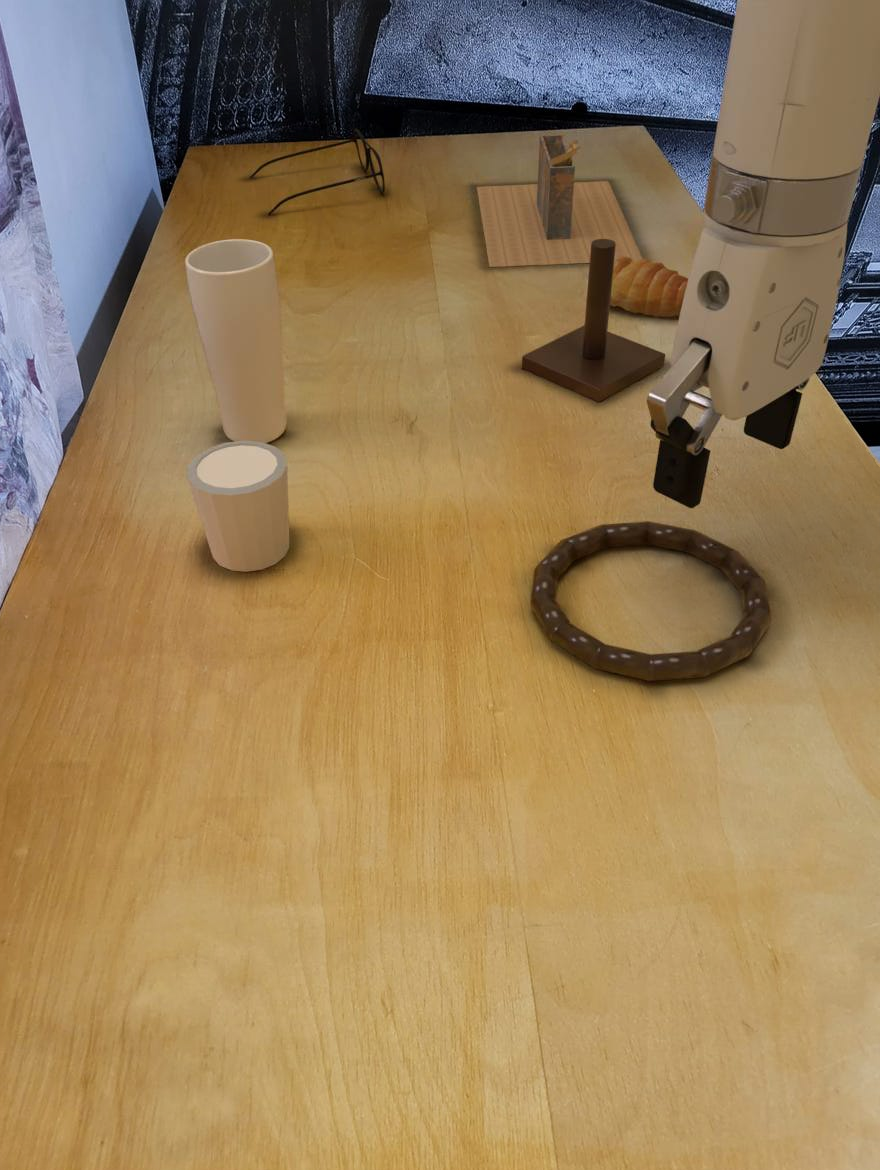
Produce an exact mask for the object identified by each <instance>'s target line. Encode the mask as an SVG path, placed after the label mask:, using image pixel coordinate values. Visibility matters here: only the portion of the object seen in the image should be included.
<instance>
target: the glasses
mask: <svg viewBox="0 0 880 1170" xmlns="http://www.w3.org/2000/svg"><path fill="white" fill-rule="evenodd" d="M352 133H353V138H352V139H348V140H344V141H340V142H336V143H331V144H327V145H323V146H318V147H314V148H310V149H306V150H302V151H301V150H300V151H298V152H294V153H291V154H290V153H289V154H287V155H284V156H280V157H276V158H274V159H271V160H269V161H266V162H264V163H263V164H261V165H260V166H258V168H257V169H256V170H255V171H254V172H253V173H252V174H251V175H250V176H249V179H250V180H251V179H252V178H253V177H254V176H256V175H257V174H258V173H259V172H260V171H261V170H262V169H264V168H265V167H267V166H269V165H271V164H274V163H276V162H279V161H282V160H285V159H289V158H293V157H296V156H297V157H298V156H300V155H305V154H308V153H313V152H317V151H321V150H325V149H329V148H334V147H338V146H342V145H345V144H349V143H350V144H351V143H354V144H355V148H356V152H357V155H358V160H359V163H360V167H361V169H362V171H363V172H368V170H369V168H370V172H371V173H370V174H367V175H364V176H359V177H355V178H351V179H347V180H343V181H339V182H334V183H331V184H326V185H322V186H319V187H315V188H311V189H308V190H307V189H306V190H304V191H301V192H297V193H295V194H291V195H290V196H287V197H286V198H284V199H282V200H281V201H279V202H278V203H277V204H276V205H275V206H274V207H273V208H272V209H271V210H270V211H269V212H268V213H267V216H270V215H272V214H273V213H274V212H275V211H276V210H277V209H278V208H280V206H281V205H283V204H284V203H286V202H288V201H291V200H292V199H296V198H299V197H301V196H304V195H307V194H312V193H314V192H319V191H322V190H327V189H330V188H334V187H340V186H344V185H346V184H351V183H354V182H359V181H362V180H365V179H370V178H373V180H374V183H375V185H376V187H377V189H378V191H379V193H380V194H384V193H385V191H386V190H385V189H386V188H385V187H386V185H385V184H386V183H385V175H384V174H385V173H384V169H383V165H382V164H383V163H382V160H381V157H380V155H379V153H378V151H377V150H376V149H375V148H374V147H372V146H371V144H369V143H368V142H367V140H366V139H365V137H364V136H363V134H362V133H361V131H360V130H359V129H358V128H354V129H353V132H352ZM357 134H358V136H359V138H360V140H361V142H362V145H363V149H364V154H365V155H364V156H365V167H364V164H363V161H362V158H361V154H360V149H359V143H358V138H357ZM371 151H372V153H373V155H374V157H375V159H376V161H377V163H378V167H379V168H378V169H379V171H378V172H376V171H375V168H374V164H373V163H374V162H373V159H372V154H371ZM377 176H380V177H381V181H382V188H381V186H380V184H379V181H378V178H377Z"/></svg>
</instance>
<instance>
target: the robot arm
mask: <svg viewBox="0 0 880 1170" xmlns="http://www.w3.org/2000/svg"><path fill="white" fill-rule="evenodd" d="M723 82H724V83H723V89H722V93H721V100H720V106H719V112H718V119H717V124H716V131H715V136H714V143H713V149H712V152H713V153H712V155H711V161H710V168H709V174H708V179H707V180H708V181H707V187H706V193H705V199H704V206H703V211H702V222H703V223H704V225H705V226H704V227H703V228H702V231H701V233H700V234H701V235H700V237H699V241H698V244H697V246H696V247H697V248H696V249H695V253H694V256H693V260H692V264H691V267H690V271H689V275H688V282H687V286H686V290H685V294H684V299H683V303H682V307H681V311H680V315H678V316H679V317H678V320H677V321H678V322H677V326H676V331H675V336H674V343H673V348H672V354H671V361H670V368H669V369H668V370H667V371H666V372H665V374H664V375H663V376H662V377H661V378H660V380H659V381H658V382H657V383H656V384H655V385H654V387H653V388H652V389H651V390H650V391H649V393H648V395H647V398H646V404H647V409H648V412H649V416H650V424H649V425H650V428H651V429H652V430H653V431H654V432H655V435H654V436H655V438H656V439H658V440H659V444H658V451H657V456H656V457H657V458H656V464H655V469H654V476H653V482H652V487H653V490H654V491H655V492H656V493H658V494H660V495H662V496H664V497H666V498H668V499H670V500H672V501H674V502H677V503H679V504H681V505H683V506H685V507H686V508H688V509H694V508H696V507H697V506H699V505H700V504H701V502H702V497H703V492H704V486H705V481H706V477H707V471H708V465H709V460H710V457H711V450H710V449H708V448H706V447H705V446H706V444H707V443H708V441H709V439H710V437H711V436H712V434H713V432H714V430H715V429H716V427H717V425H718V424H719V422H720V420H721V418H722V416H724V418H725V419H726V420H730V421H738V420H741V419H743V418H745V421H744V424H743V433H744V434H745V435H746V436H747V437H750V438H752V439H754V440H757V441H759V442H762V443H765V444H766V445H769V446H772V447H774V448H776V449H779V450H784V449H785V448H787V447H788V446H789V445H790V443H791V441H792V437H793V432H794V429H795V425H796V420H797V416H798V413H799V409H800V404H801V400H802V396H803V392H801V391H803V390H804V389H805V388H806V387H807V385H808V384H809V382H810V378H811V377H813V376H814V375H815V374H816V373H817V372H818V370H819V369H820V368H821V366H822V364H823V362H824V359H825V356H826V351H827V347H828V342H829V338H830V335H831V330H832V326H833V320H834V315H835V311H836V307H837V300H838V295H839V290H840V285H841V280H842V275H843V269H844V268H843V267H844V262H845V255H846V245H847V235H848V221H849V218H850V215H851V210H852V206H853V202H854V198H855V196H856V195H855V194H856V190H857V187H858V182H859V178H860V175H861V171H862V166H863V163H864V159H865V155H866V151H867V146H868V143H869V139H870V136H871V135H870V134H871V131H872V128H873V125H874V124H873V123H874V120H875V116H876V111H877V107H878V103H879V100H880V0H737V2H736V7H735V15H734V21H733V26H732V32H731V39H730V45H729V51H728V56H727V64H726V69H725V75H724V81H723ZM703 387H705V388H708V389H709V395H710V397H708V396H706V395H703V394H701V393H699V392H696V391H697V390H699V389H701V388H703ZM798 390H799V391H798ZM690 405H691V406H693V407H696V408H698V409H700V410H702V411H703V413H702V415H701V417H700V419H699V421H698V422H697V424H696V425H695V427H694V428H693V426H692V425H691V424H690V423H689V422H688V421H687V420H686V419H685V418H683V417H684V415H685V413H686V411H687V410H688V408H689V406H690Z"/></svg>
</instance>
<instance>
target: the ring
mask: <svg viewBox="0 0 880 1170" xmlns="http://www.w3.org/2000/svg"><path fill="white" fill-rule="evenodd" d="M639 545H640V546H641V545H649V546H653V547H659V548H664V549H669V550H674V551H678V552H679V551H680V552H685V553H688V554H690V555H692V556H694V557H695V558H698V559H700V560H702V561H703V562H706V563H707V564H710V565H712V566H713V567H715V568H717V569H719V570H721V572H723V573H724V575H725V576H726V577H727V578H728V580H730V582H731V583H732V584H733V585H734V586H735V588H737V590H738V591H739V592H740V593H741V594H740V595H741V601H742V608H743V609H742V610H743V616H742V617H741V619H740V620H739V622H738V623H737V625H736V626H735V628H734V629H733V630H732V632H731V633H730V635H729V636H726V637H724V638H722V639H720V640H718V641H715V642H714V643H711V644H709V645H707V646H704V647H702V648H700V649H698V650H691V651H690V650H689V651H678V652H666V653H665V652H663V653H652V654H651V653H647V652H642V651H638V650H633V649H630V648H626V647H620V646H616V645H611V644H607V643H604V642H603V641H601V640H599V639H598V638H596V637H595V636H593V635H591V634H589V633H588V632H587V631H585V630H583V629H582V628H579V627H578V626H576V625H575V624H573V623H571V621H570V620H569V618H568V616H567V614H566V613H565V612H564V610H563V609H562V607H561V605H560V604H559V602H558V601H557V590H558V589H557V588H558V587H557V586H558V578H559V577H561V575H562V574H563V573H564V572H565V571H566V570H567V569H568V568H569V567H570V565H571V564H572V563H573V562H575V560H578V559H580V558H582V557H585V556H587V555H589V554H593V553H594V552H595V553H596V552H597V551H600V550H602V549H605V548H611V547H612V548H614V547H624V546H625V547H627V546H639ZM532 579H533V580H532V587H531V595H530V596H531V597H530V607H531V609H532V611H533V613H534V614H535V616H536V617H537V619H538V621H539V623H541V626H542V627H543V629H544V630H545V632H546V633H547V636H548V637H549V639H550V640H551V642H553V643H554V644H556V645H557V646H559V647H560V648H562V649H563V650H565V651H567V652H569V653H570V654H571V655H573V656H575V657H576V658H578V659H579V660H581V661H583V662H584V663H586V664H587V665H589V666H591V667H592V668H594V669H596V670H601V671H606V672H609V673H612V674H613V673H615V674H619V675H623V676H626V677H631V678H635V679H639V680H643V681H649V682H652V681H667V680H679V679H680V680H681V679H693V678H694V679H695V678H704V677H708V676H709V675H711V674H713V673H716V672H717V671H720V670H722V669H724V668H726V667H729V666H731V665H732V664H735V663H736V662H739V661H741V660H743V659H745V658H747V657H749V655H751V653H752V652H753V650H754V649H755V647H756V646H757V644H758V643H759V641H760V640H761V638H762V636H763V635H764V633H765V632H766V631H767V629H768V627H769V626H770V624H771V622H772V614H771V613H772V612H771V606H770V601H769V600H770V599H769V595H768V587H767V583H766V580H765V579H764V578H763V577H762V576H761V575H760V574H759V573H758V572H757V571H756V569H754V567H753V566H752V565H751V564H750V563H749V562H748V560H747V559H746V558H744V556H743V555H742V554H741V553H740V551H738V550H737V549H734V548H733V547H731V546H729V545H727V544H725V543H723V542H720V541H718V540H716V539H715V538H712V537H710V536H709V535H707V534H705V533H703V532H700V531H698V530H696V529H692V528H686V527H680V526H676V525H670V524H665V523H660V522H654V521H648V520H647V521H633V522H619V523H604V524H599V525H597V526H594V527H591V528H589V529H586V530H584V531H581V532H579V533H575V534H574V535H570V536H569V537H565V538H564V539H561V540H560V541H558V543H557V544H556V545H555V546H554V547H553V548H552V549H551V550H550V551H549V552H548V553H547V554H546V556H545V557H543V559H542V560H541V561H540V562H539V563H538V564H537V565H536V566H535V568H534V570H533V578H532Z"/></svg>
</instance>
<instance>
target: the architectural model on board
mask: <svg viewBox="0 0 880 1170" xmlns="http://www.w3.org/2000/svg"><path fill="white" fill-rule="evenodd" d="M577 144H579V139H575V140H573V141H572V142H569V143H568V145H567V144H566V140H564V134H543V135H539V149H538V170H537V171H538V172H537V183H533V184H532V183H531V184H510V185H509V184H507V185H486V186H476V191H477V198H478V205H479V210H480V216H481V223H482V229H483V236H484V241H485V242H484V243H485V247H486V253H487V254H486V255H487V261H488V267H489V268H498V267H499V268H502V267H523V266H526V267H527V266H549V265H570V264H590V253H591V243H592V242H593V241H594V240H597V239H610V240H613V241H614V242H615V243H616V247H615V257H614V261H615V260H616V259H618V258H620V257H621V256H625V257H629V258H631V259H632V260H634V261H637V260H640V259H643V256H642V254H641V252H640V250H639V249H640V248H639V247H638V245H637V242H636V241H635V238H634V236H633V234H632V231H631V229H630V226H629V225H628V222H627V220H626V218H625V215H624V213H623V211H622V208H621V205H620V204H619V202H618V200H617V197H616V195H615V192H614V190H613V188H612V186H611V183H610V181H608V180H601V181H581V182H580V181H579V182H578V181H577V182H575V173H576V166H575V165H573V159H572V158H573V156H575V155H577V154H578V153H577V151H578V150H580V149H581V145H578V146H577ZM567 146H568V147H567Z"/></svg>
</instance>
